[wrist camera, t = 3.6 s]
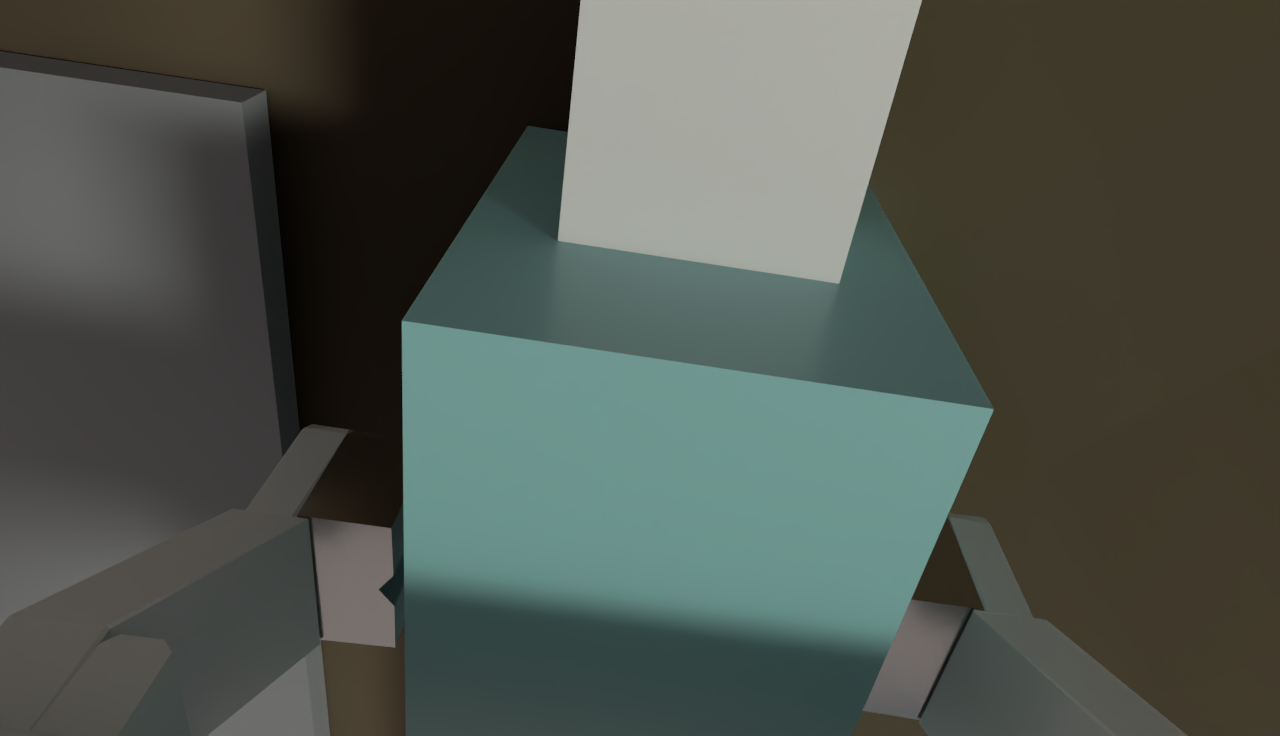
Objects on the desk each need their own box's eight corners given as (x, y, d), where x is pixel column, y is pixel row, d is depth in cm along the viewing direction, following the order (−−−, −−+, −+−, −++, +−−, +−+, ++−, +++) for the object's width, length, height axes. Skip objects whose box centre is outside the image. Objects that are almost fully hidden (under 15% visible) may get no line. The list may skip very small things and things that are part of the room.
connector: (545, -111, 9) (397, -90, 4) (926, -48, 9) (1158, 34, 4) (484, 747, 16) (408, 1069, 12) (691, 776, 16) (690, 1104, 12)
